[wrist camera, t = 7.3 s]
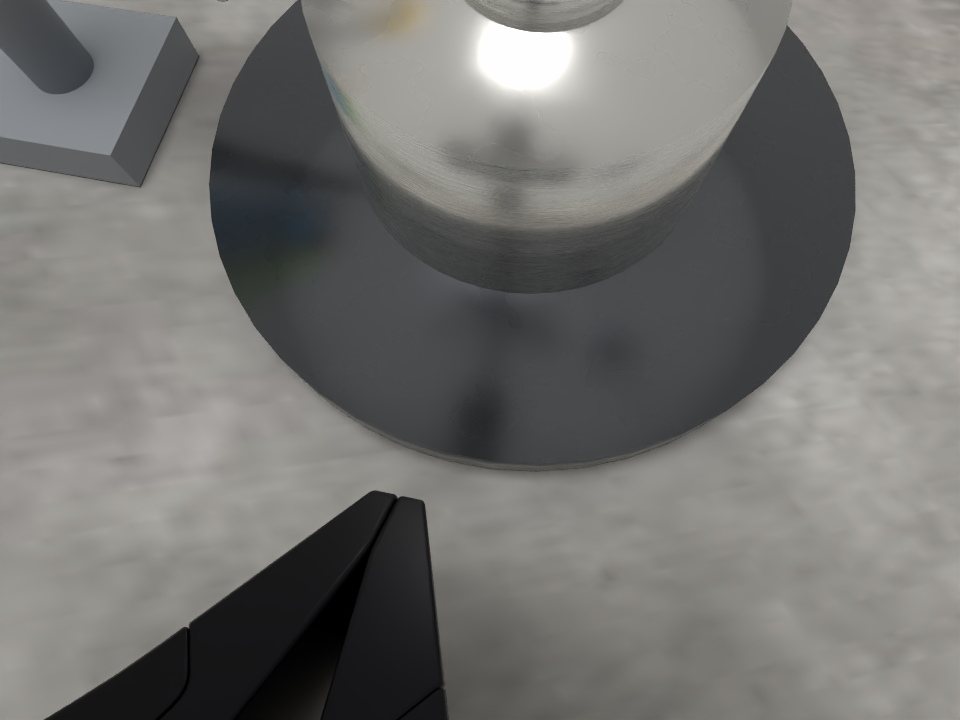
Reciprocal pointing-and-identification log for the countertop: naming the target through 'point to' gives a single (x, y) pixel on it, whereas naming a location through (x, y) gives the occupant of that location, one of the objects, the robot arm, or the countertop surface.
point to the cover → (538, 123)
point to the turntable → (518, 316)
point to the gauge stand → (88, 87)
